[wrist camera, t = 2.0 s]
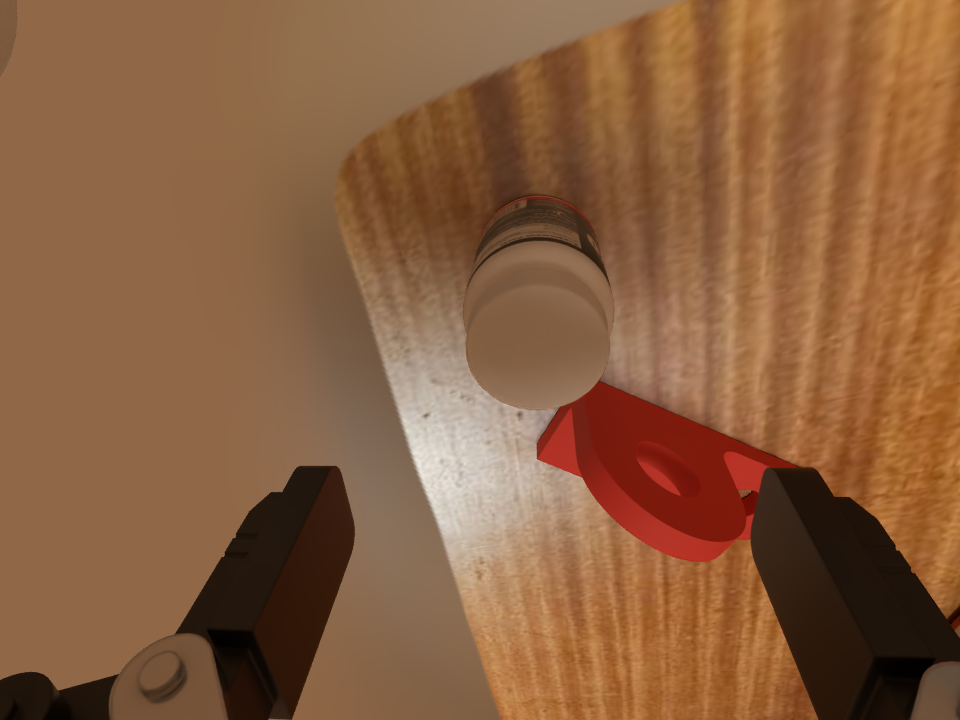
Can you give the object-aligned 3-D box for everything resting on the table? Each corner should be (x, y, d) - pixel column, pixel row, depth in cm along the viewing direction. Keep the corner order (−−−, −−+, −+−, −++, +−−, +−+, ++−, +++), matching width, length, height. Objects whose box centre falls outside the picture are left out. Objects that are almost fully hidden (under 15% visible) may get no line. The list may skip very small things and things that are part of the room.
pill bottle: (590, 307, 24) (614, 428, 17) (478, 303, 24) (454, 419, 17) (603, 193, 21) (638, 277, 14) (479, 190, 22) (452, 270, 15)
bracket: (536, 444, 28) (537, 579, 21) (582, 373, 26) (599, 499, 19) (744, 528, 29) (807, 679, 23) (803, 469, 27) (893, 617, 20)
